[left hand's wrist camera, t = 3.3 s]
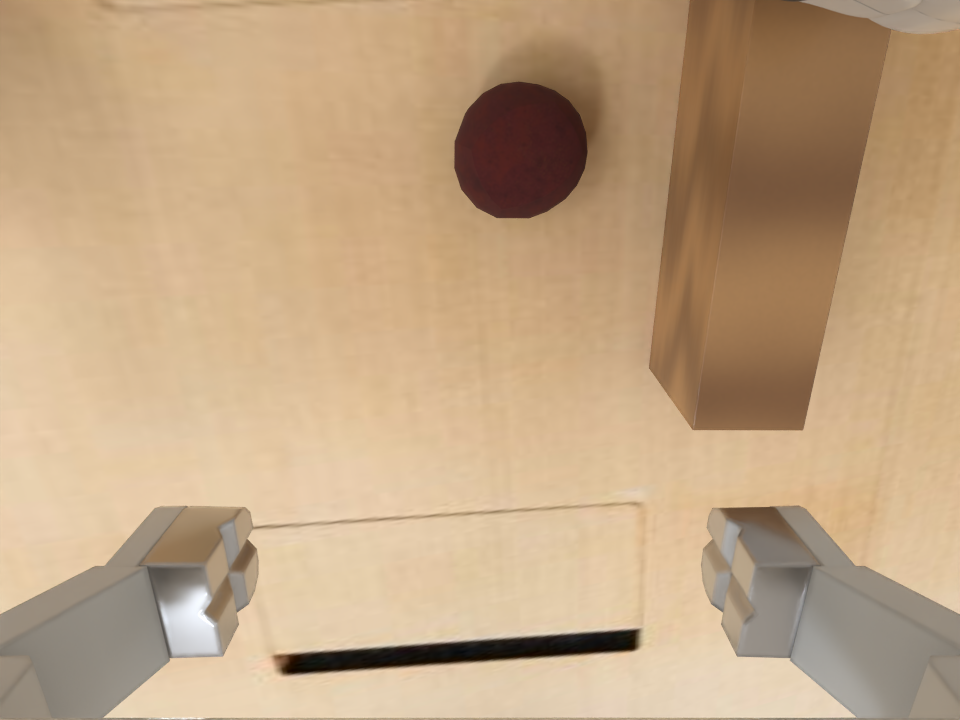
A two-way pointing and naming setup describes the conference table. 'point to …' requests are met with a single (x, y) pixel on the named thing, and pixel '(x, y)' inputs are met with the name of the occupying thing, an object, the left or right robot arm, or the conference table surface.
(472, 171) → the dark red ball
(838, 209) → the box
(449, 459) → the conference table surface
